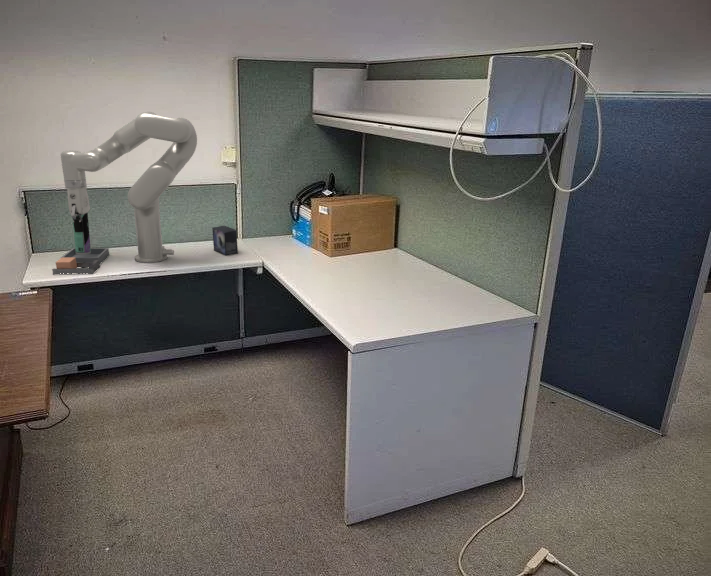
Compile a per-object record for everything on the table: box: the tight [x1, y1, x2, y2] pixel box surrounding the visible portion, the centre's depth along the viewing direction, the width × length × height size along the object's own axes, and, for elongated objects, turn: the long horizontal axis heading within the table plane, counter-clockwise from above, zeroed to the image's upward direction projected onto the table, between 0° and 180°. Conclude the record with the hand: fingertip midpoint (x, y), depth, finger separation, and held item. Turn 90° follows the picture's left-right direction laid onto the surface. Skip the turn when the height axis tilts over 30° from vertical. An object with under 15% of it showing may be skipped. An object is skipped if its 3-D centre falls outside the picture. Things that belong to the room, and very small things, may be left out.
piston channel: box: [51, 260, 101, 275], centre depth 208 cm, size 14×9×3 cm, turn 98°
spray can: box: [72, 211, 92, 255], centre depth 218 cm, size 6×6×20 cm
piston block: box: [55, 257, 77, 269], centre depth 208 cm, size 5×6×4 cm
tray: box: [60, 247, 110, 265], centre depth 221 cm, size 14×14×3 cm
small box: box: [211, 225, 239, 256], centre depth 237 cm, size 11×6×10 cm, turn 43°
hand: (81, 229), depth 218 cm, fingers closed on spray can, 5 cm apart
